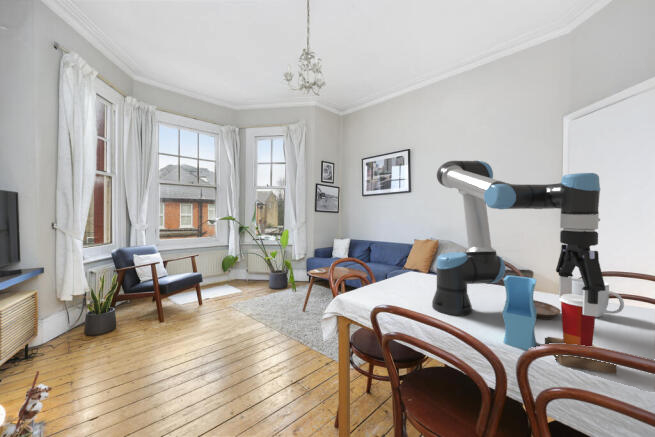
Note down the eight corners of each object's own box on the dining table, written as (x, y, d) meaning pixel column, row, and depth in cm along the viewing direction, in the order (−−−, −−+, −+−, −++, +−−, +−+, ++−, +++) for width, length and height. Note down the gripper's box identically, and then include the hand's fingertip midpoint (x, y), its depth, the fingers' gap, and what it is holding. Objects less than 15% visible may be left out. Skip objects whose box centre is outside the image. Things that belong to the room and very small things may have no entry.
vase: (502, 343, 81) (502, 279, 80) (506, 334, 87) (506, 274, 86) (534, 352, 76) (535, 284, 75) (536, 342, 82) (537, 278, 81)
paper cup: (592, 345, 74) (592, 296, 73) (601, 358, 67) (602, 304, 67) (555, 338, 78) (556, 291, 78) (561, 349, 71) (562, 298, 71)
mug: (626, 318, 99) (627, 284, 99) (620, 325, 93) (621, 289, 93) (574, 307, 111) (574, 276, 111) (565, 312, 105) (566, 280, 105)
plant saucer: (572, 323, 96) (572, 315, 96) (519, 320, 99) (519, 312, 99) (542, 306, 113) (542, 299, 113) (497, 304, 117) (497, 297, 116)
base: (560, 364, 69) (561, 353, 69) (544, 345, 80) (544, 335, 80) (616, 374, 65) (616, 362, 65) (591, 352, 76) (591, 342, 75)
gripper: (628, 234, 59) (625, 327, 60) (573, 227, 82) (571, 294, 83) (585, 233, 62) (582, 321, 62) (544, 226, 85) (542, 291, 85)
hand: (576, 306), depth 72 cm, fingers open, 13 cm apart
